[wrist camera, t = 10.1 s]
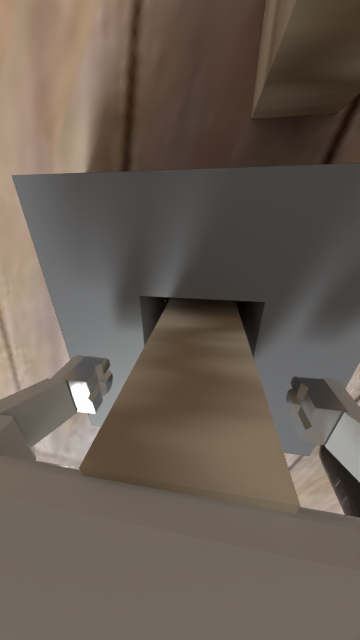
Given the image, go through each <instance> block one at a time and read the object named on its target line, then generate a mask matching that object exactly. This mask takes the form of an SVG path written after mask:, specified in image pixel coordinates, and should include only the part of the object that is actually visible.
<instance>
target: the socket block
mask: <svg viewBox="0 0 360 640" xmlns="http://www.w3.org/2000/svg"><path fill="white" fill-rule="evenodd" d="M12 178H13V181H14V184H15V188H16V191H17V194H18V197H19V200H20V203H21V206H22V209H23V213H24V216H25V219H26V222H27V225H28V228H29V231H30V234H31V238H32V241H33V244H34V247H35V250H36V253H37V256H38V260H39V263H40V266H41V269H42V272H43V275H44V278H45V281H46V285H47V288H48V291H49V294H50V297H51V300H52V303H53V306H54V310H55V313H56V316H57V319H58V322H59V325H60V328H61V332H62V335H63V338H64V341H65V344H66V347H67V350H68V353H69V357H70V360H71V359H72V358H73V357H74V356H77V355H81V356H91V357H100V358H107V359H109V361H110V367H109V368H108V369H109V370H110V371H111V372H112V375H113V382H112V386H111V388H110V390H109V392H108V393H107V394H105V395H104V396H102V398H103V402H102V403H101V405H100V407H99V408H98V410H97V412H96V413H88V416H89V419H90V422H91V425H93V426H100V427H101V426H102V425H103V423H104V421H105V419H106V417H107V415H108V413H109V412H110V410H111V408H112V406H113V404H114V402H115V400H116V398H117V397H118V395H119V393H120V391H121V389H122V387H123V385H124V384H125V382H126V380H127V378H128V376H129V374H130V372H131V371H132V369H133V367H134V365H135V363H136V361H137V359H138V358H139V356H140V354H141V352H142V350H143V348H144V346H145V345H146V343H147V341H148V339H149V337H150V335H151V333H152V332H153V330H154V328H155V326H156V324H157V322H158V320H159V319H160V317H161V315H162V313H163V297H173V298H193V299H213V300H233V301H243V304H242V310H241V317H240V318H241V321H242V324H243V327H244V330H245V333H246V337H247V340H248V343H249V346H250V349H251V352H252V355H253V359H254V362H255V365H256V368H257V371H258V374H259V377H260V381H261V384H262V387H263V390H264V393H265V396H266V399H267V403H268V406H269V409H270V412H271V415H272V418H273V421H274V425H275V428H276V431H277V434H278V437H279V440H280V443H281V447H282V450H283V453H290V454H297V455H304V456H310V454H311V453H312V451H313V449H314V447H315V445H316V444H315V443H309V442H302V441H300V439H299V437H298V434H297V432H296V430H295V427H294V422H295V419H294V418H293V417H291V416H290V415H289V413H288V410H287V406H286V395H287V392H288V391H289V390H290V389H292V385H291V380H292V378H293V377H294V376H298V377H309V378H320V379H321V378H324V379H335V380H337V381H339V382H340V384H341V385H342V386H343V387H344V389H345V388H346V386H347V384H348V383H349V381H350V379H351V377H352V375H353V373H354V371H355V369H356V367H357V366H358V364H359V362H360V163H350V164H322V165H293V166H265V167H236V168H208V169H179V170H151V171H122V172H94V173H65V174H37V175H12Z"/></svg>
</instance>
